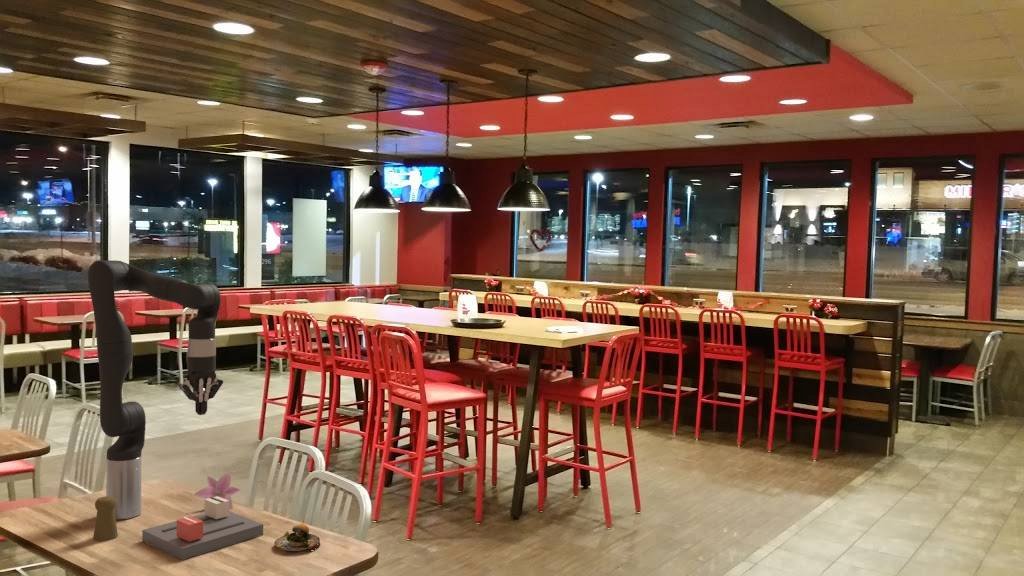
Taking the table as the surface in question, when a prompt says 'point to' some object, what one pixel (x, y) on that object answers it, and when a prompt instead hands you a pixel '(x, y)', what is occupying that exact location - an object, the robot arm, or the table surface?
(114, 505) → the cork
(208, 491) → the lily
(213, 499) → the block
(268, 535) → the table surface
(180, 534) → the block
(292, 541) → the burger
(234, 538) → the console
